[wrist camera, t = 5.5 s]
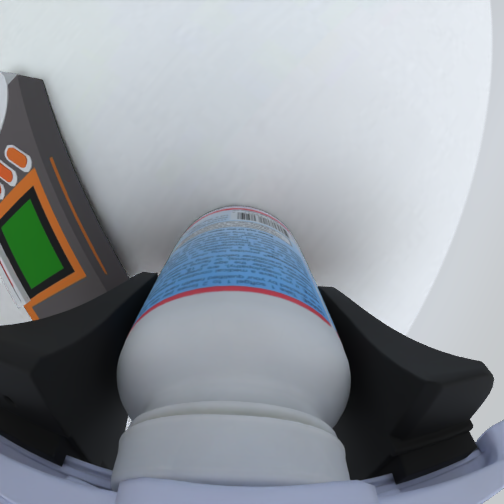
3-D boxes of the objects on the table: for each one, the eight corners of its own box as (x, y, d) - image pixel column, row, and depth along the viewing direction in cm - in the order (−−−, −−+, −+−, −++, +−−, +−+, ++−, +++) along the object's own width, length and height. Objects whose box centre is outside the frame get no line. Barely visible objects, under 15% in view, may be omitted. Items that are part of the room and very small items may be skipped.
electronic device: (7, 42, 7) (114, 313, 11) (39, 52, 9) (137, 283, 14) (-52, 123, 8) (38, 343, 12) (-22, 120, 10) (62, 317, 15)
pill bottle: (151, 259, 14) (35, 465, 3) (245, 176, 12) (243, 385, 2) (232, 335, 16) (225, 540, 5) (324, 270, 14) (422, 485, 4)
